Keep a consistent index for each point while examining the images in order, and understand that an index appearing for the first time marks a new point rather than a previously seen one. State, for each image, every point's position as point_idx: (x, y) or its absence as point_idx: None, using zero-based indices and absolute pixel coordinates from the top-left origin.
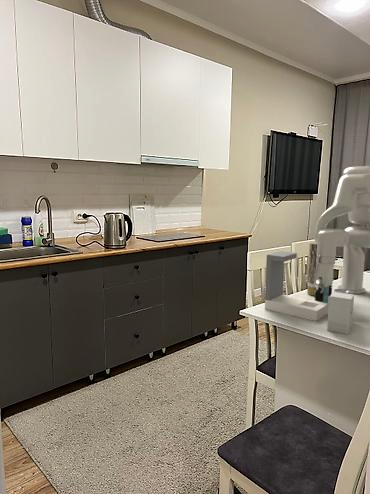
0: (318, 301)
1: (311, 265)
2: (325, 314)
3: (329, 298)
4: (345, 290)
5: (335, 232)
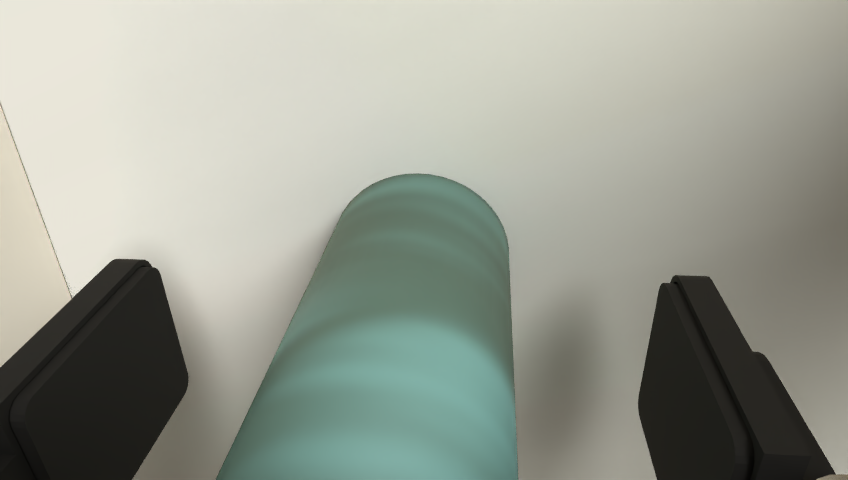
0: (344, 227)
1: None
2: None
3: None
4: None
5: None
